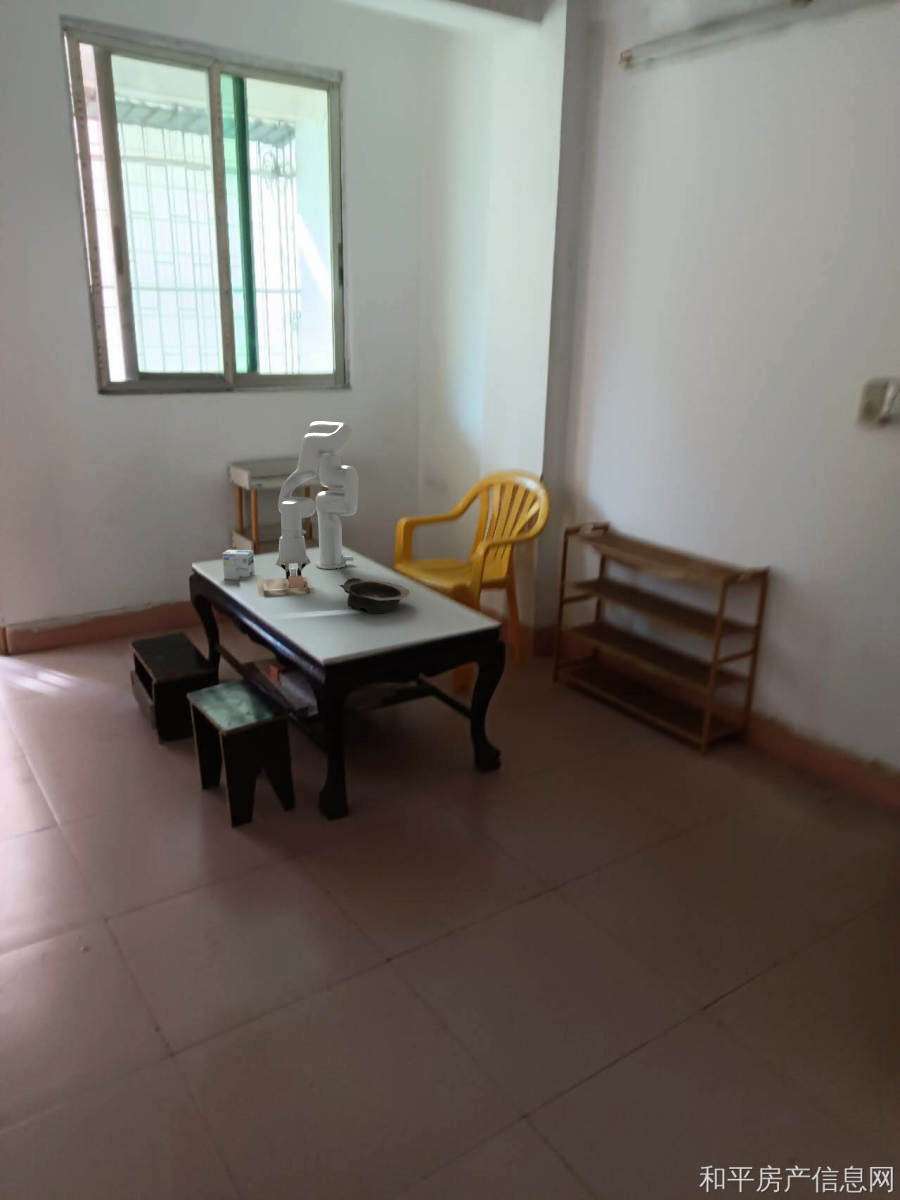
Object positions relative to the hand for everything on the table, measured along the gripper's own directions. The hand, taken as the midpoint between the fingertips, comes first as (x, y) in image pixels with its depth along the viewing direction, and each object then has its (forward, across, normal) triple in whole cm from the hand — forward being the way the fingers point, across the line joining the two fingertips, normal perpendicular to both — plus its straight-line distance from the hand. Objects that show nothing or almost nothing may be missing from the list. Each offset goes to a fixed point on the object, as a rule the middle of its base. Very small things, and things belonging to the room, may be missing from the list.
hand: (293, 579), depth 317 cm
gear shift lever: (+2, 0, +5) cm, 6 cm away
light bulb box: (+3, +20, -18) cm, 27 cm away
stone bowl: (+3, -26, +30) cm, 40 cm away
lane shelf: (+3, +4, +2) cm, 5 cm away
